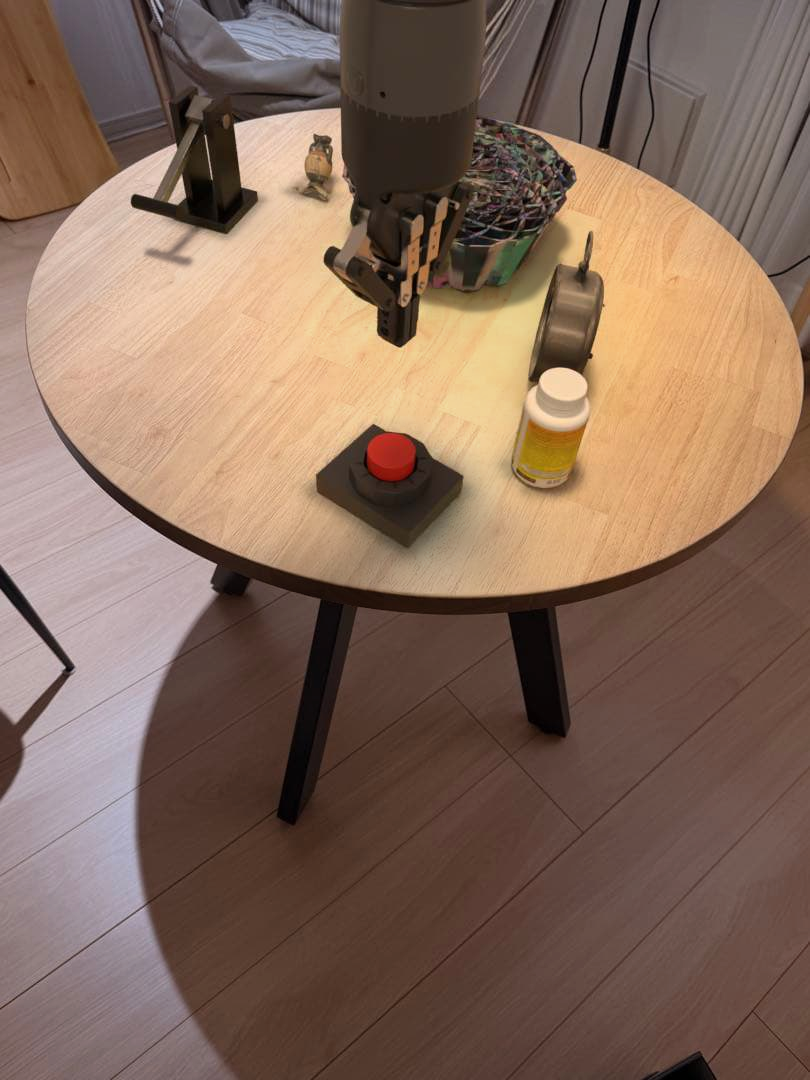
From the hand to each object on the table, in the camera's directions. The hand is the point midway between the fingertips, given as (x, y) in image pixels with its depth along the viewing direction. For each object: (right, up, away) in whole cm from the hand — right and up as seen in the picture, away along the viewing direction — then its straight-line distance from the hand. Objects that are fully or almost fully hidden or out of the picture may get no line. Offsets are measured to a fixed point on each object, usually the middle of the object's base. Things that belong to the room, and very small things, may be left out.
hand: (397, 337), depth 56 cm
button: (-1, -8, +11) cm, 13 cm away
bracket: (-22, +25, +39) cm, 51 cm away
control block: (-1, -10, +14) cm, 17 cm away
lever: (-23, +26, +30) cm, 46 cm away
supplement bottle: (+13, -8, +16) cm, 22 cm away
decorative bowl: (+6, +21, +38) cm, 44 cm away
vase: (-10, +30, +43) cm, 53 cm away
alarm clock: (+16, +1, +23) cm, 28 cm away
